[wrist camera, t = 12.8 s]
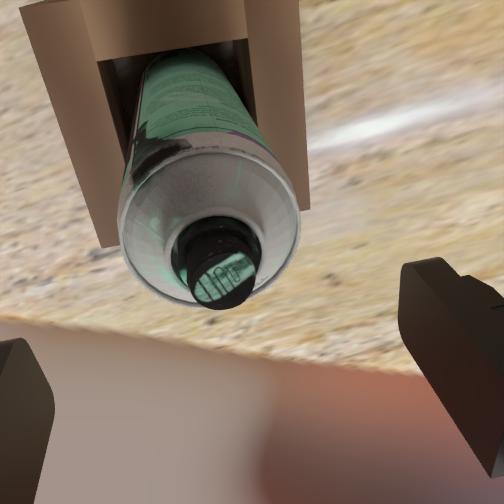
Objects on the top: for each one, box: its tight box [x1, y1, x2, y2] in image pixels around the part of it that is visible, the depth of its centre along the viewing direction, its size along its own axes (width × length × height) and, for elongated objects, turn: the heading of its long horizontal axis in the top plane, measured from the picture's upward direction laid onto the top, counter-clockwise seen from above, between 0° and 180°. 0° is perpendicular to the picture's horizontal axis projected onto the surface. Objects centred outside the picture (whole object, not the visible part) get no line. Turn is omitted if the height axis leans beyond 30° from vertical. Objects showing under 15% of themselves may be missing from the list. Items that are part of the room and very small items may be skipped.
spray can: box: [117, 48, 301, 310], centre depth 20 cm, size 6×6×20 cm
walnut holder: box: [19, 0, 310, 248], centre depth 26 cm, size 12×12×6 cm
